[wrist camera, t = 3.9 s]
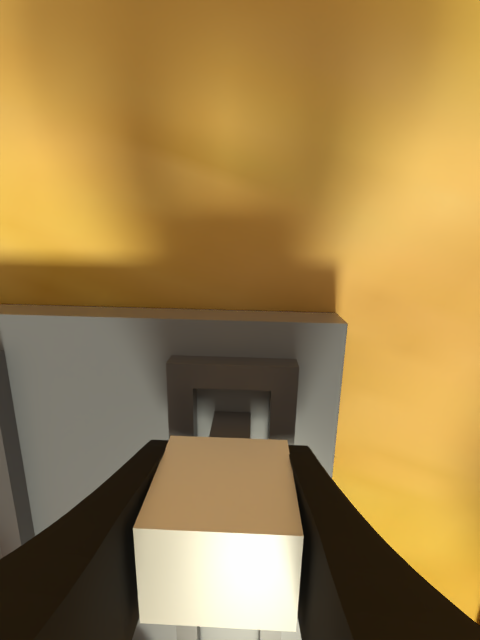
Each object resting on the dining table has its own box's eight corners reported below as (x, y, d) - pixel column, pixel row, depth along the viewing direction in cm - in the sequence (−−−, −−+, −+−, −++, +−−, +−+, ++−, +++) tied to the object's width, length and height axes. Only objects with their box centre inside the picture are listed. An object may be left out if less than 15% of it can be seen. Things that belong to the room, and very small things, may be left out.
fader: (281, 405, 11) (303, 535, 6) (277, 468, 12) (296, 631, 7) (184, 402, 11) (132, 528, 6) (185, 464, 12) (139, 623, 7)
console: (335, 312, 12) (359, 335, 9) (302, 674, 16) (312, 759, 14) (-79, 302, 12) (-169, 320, 10) (0, 656, 17) (-47, 735, 14)
